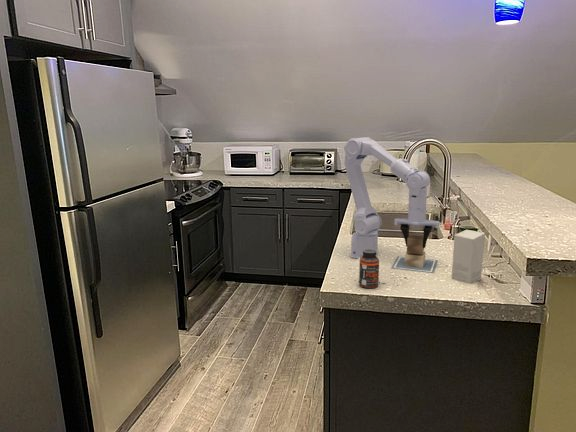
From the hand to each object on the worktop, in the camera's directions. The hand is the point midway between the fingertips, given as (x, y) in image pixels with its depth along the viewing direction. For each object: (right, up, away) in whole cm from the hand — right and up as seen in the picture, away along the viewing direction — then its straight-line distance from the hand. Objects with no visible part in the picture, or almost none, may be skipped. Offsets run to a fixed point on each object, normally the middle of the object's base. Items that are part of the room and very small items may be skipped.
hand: (415, 246), depth 153 cm
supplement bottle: (-19, -11, -14) cm, 26 cm away
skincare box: (+13, -10, -12) cm, 20 cm away
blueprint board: (0, -7, +2) cm, 7 cm away
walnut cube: (0, -2, 0) cm, 2 cm away
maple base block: (0, -6, +1) cm, 6 cm away
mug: (+39, +22, +127) cm, 135 cm away
